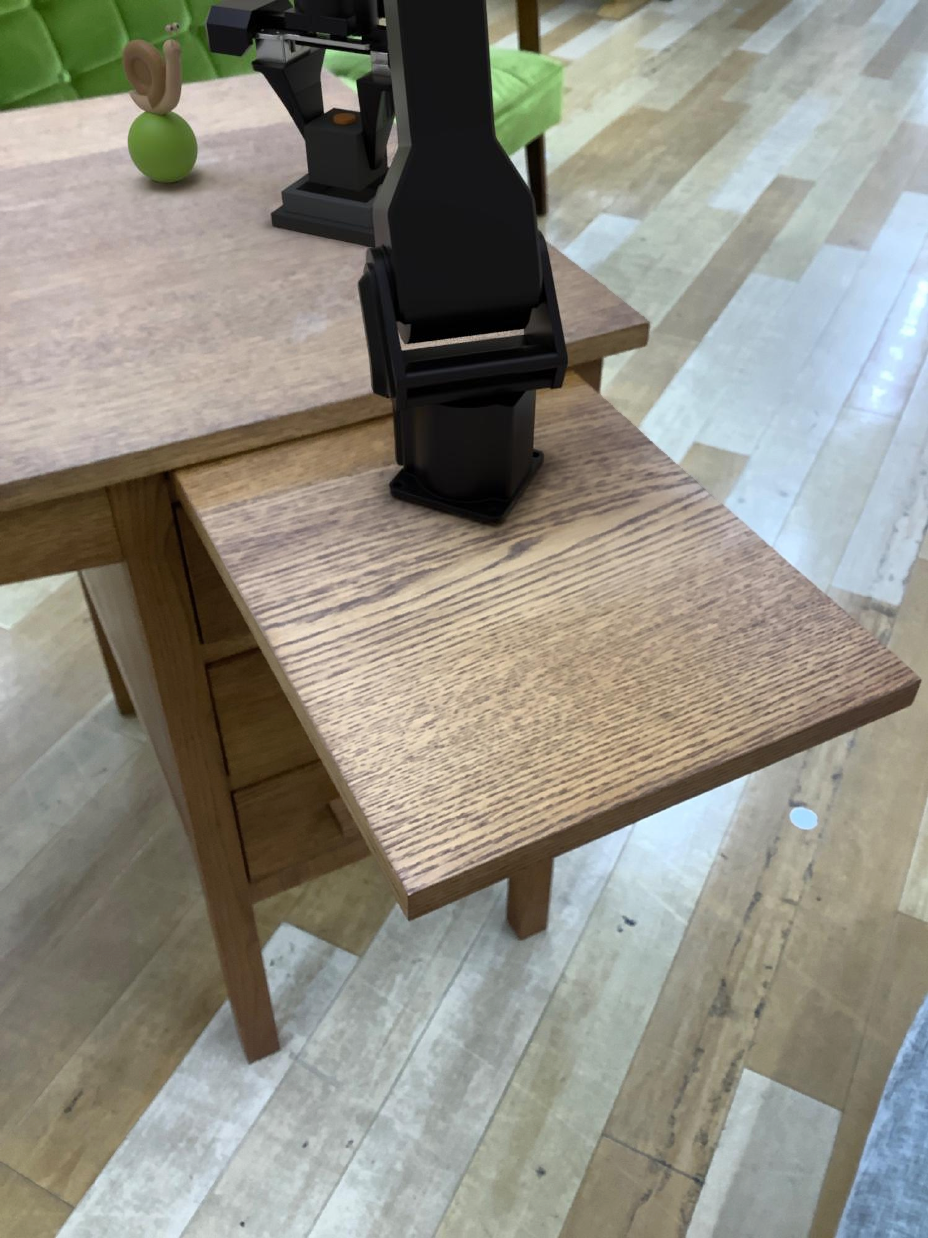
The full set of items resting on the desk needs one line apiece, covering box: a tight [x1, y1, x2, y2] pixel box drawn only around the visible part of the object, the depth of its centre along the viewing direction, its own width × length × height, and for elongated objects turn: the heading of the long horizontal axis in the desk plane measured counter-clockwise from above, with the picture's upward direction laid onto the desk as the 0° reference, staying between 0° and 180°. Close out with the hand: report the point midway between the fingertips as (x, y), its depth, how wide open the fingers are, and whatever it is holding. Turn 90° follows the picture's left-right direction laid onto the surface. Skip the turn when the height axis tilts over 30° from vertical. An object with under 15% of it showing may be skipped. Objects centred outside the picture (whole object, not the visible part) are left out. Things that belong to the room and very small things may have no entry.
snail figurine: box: [121, 21, 199, 184], centre depth 81 cm, size 5×6×12 cm
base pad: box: [270, 166, 390, 248], centre depth 80 cm, size 9×9×2 cm
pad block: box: [304, 107, 389, 191], centre depth 77 cm, size 4×4×4 cm
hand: (348, 162), depth 78 cm, fingers closed on pad block, 4 cm apart
